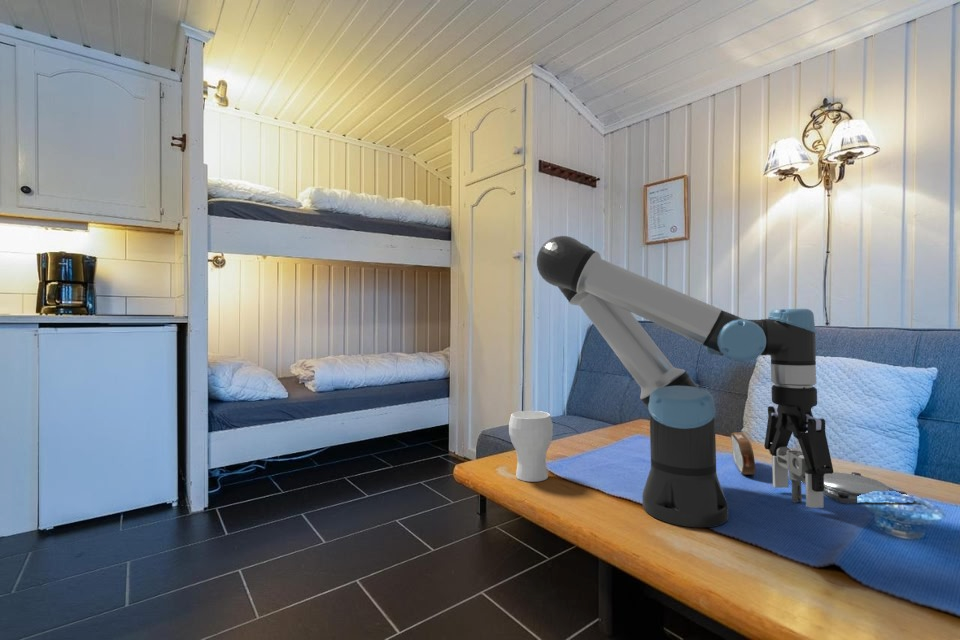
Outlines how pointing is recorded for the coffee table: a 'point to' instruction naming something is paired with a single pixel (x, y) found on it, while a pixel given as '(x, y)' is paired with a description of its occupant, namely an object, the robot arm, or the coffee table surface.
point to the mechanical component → (793, 469)
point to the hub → (851, 486)
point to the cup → (531, 443)
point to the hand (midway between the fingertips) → (796, 496)
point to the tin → (743, 453)
